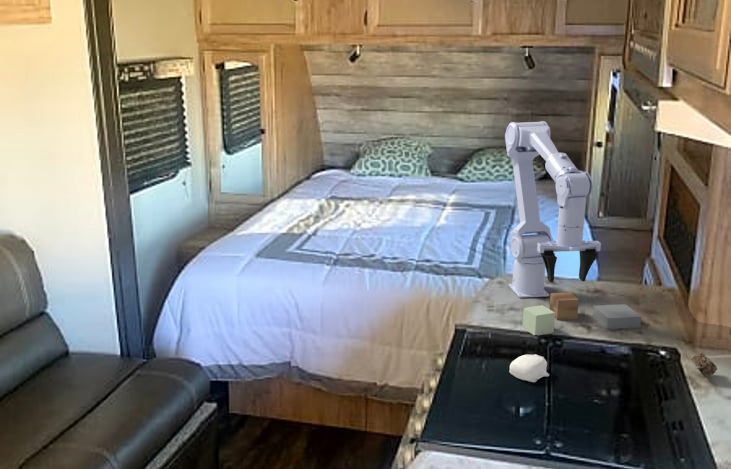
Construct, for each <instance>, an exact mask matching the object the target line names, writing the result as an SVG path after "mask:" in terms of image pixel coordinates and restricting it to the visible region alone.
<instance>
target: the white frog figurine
mask: <svg viewBox="0 0 731 469" xmlns="http://www.w3.org/2000/svg"><path fill="white" fill-rule="evenodd" d="M547 366H548V362H547V360H546V359H545V357H544V356H541V355H538V354H524V355H521V356H518V357H517V358H515V359H514V360H512V361H511V363H510V365H509V373H510V375H512V376H513V377H515V378H517V379H519V380H522V381H527V382H530V383H536V382H537V381H538V380H540V379H541V378H544V377H549V376H550V373H548V372H547Z"/></svg>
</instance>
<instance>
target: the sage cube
mask: <svg viewBox="0 0 731 469" xmlns="http://www.w3.org/2000/svg"><path fill="white" fill-rule="evenodd" d="M522 313H523V314H522V315H523V316H522V328H523V329H524V330H525V331H527V332H529V333H530V334H532V335H533V336H534V335H537V336H542V335H549V334H554V333H555V332H554V331H555V320H556V319H555V312H553V311H551V310H550V308H548V307H546V306H544V305H543V304H541V305H534V306H529V307H523V312H522Z"/></svg>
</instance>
